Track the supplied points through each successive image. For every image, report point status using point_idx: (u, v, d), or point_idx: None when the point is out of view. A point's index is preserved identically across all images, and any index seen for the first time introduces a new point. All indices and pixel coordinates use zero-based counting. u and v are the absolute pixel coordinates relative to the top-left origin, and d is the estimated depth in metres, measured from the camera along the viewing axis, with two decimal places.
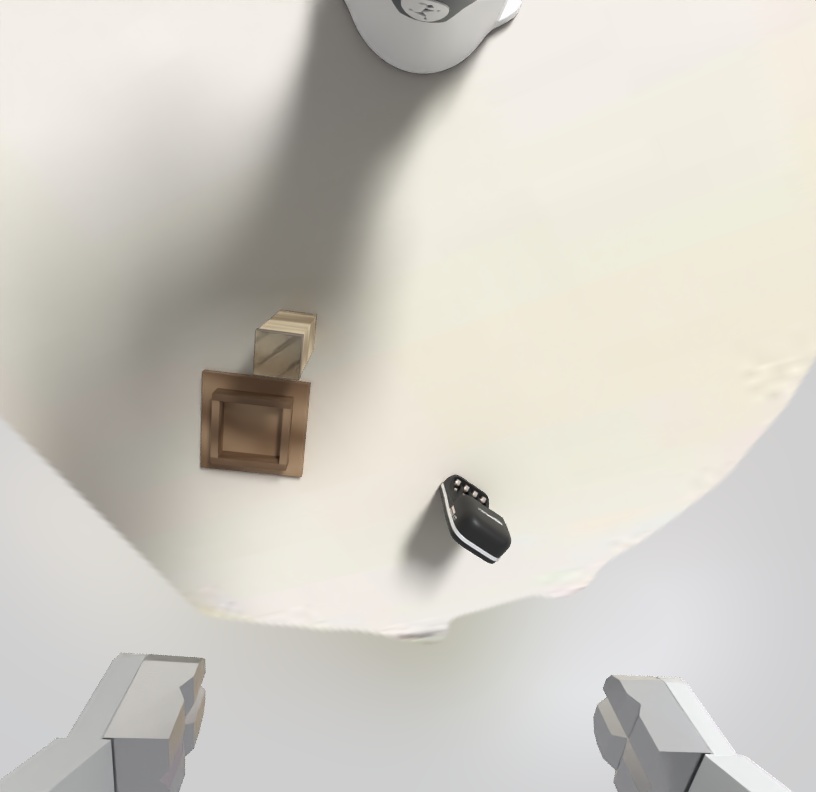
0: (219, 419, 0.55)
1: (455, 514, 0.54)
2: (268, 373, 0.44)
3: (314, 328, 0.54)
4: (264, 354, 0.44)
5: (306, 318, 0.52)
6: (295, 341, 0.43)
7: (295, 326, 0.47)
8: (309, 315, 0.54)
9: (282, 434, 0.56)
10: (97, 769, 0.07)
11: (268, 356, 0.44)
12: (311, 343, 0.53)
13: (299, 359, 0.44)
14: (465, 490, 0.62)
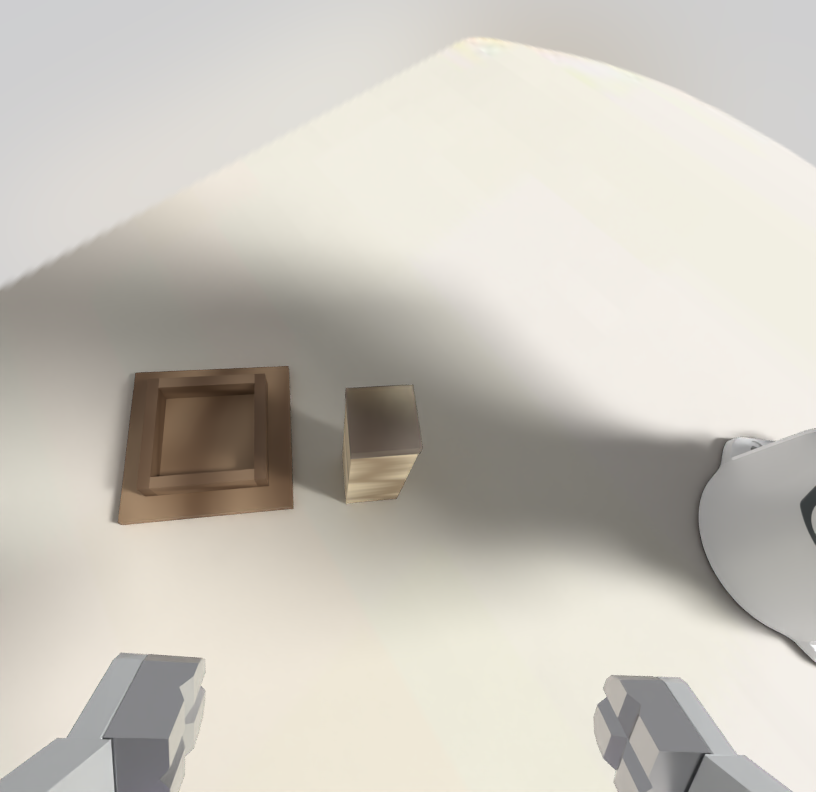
0: (223, 386, 0.38)
1: None
2: (352, 407, 0.28)
3: (381, 496, 0.37)
4: (381, 399, 0.29)
5: None
6: (411, 439, 0.28)
7: None
8: None
9: (207, 474, 0.35)
10: (97, 769, 0.07)
11: (379, 405, 0.29)
12: (366, 491, 0.36)
13: (385, 449, 0.28)
14: None
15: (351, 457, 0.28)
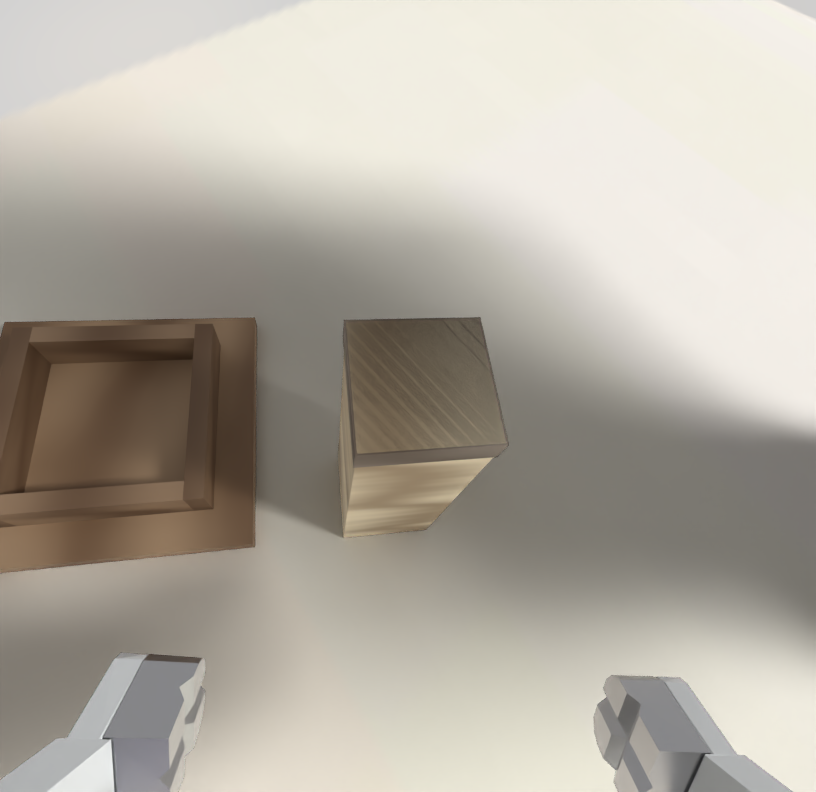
0: (142, 343, 0.23)
1: None
2: (357, 359, 0.13)
3: (402, 527, 0.22)
4: (417, 343, 0.14)
5: None
6: (483, 426, 0.13)
7: None
8: None
9: (99, 490, 0.20)
10: (97, 769, 0.07)
11: (413, 355, 0.14)
12: (378, 522, 0.21)
13: (430, 446, 0.13)
14: None
15: (355, 464, 0.13)
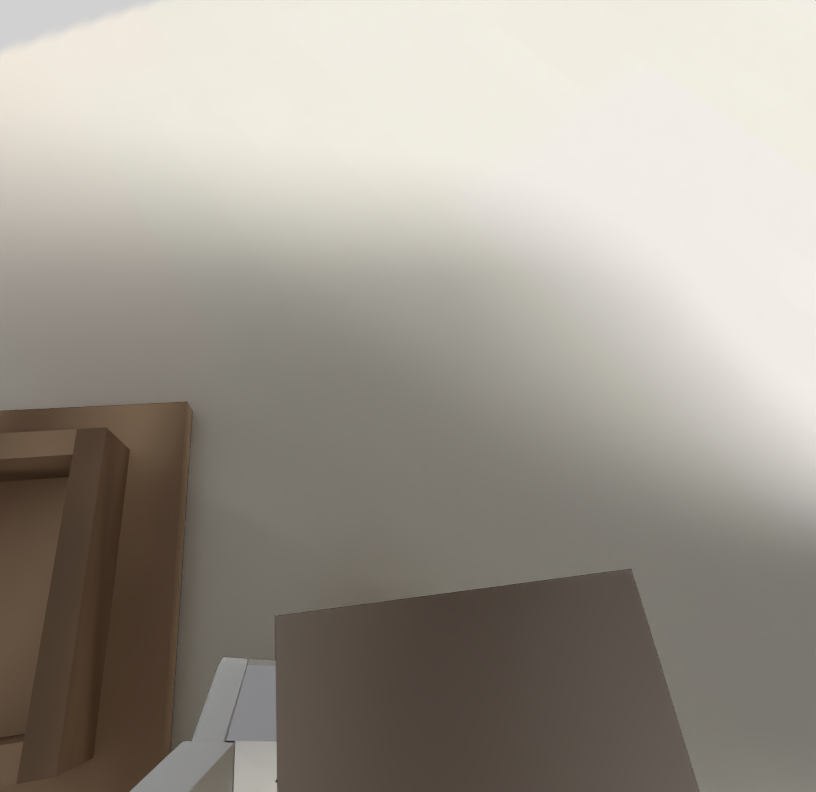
0: None
1: None
2: (309, 766, 0.04)
3: None
4: (480, 678, 0.05)
5: None
6: None
7: None
8: None
9: None
10: (222, 771, 0.07)
11: (472, 728, 0.05)
12: None
13: None
14: None
15: None
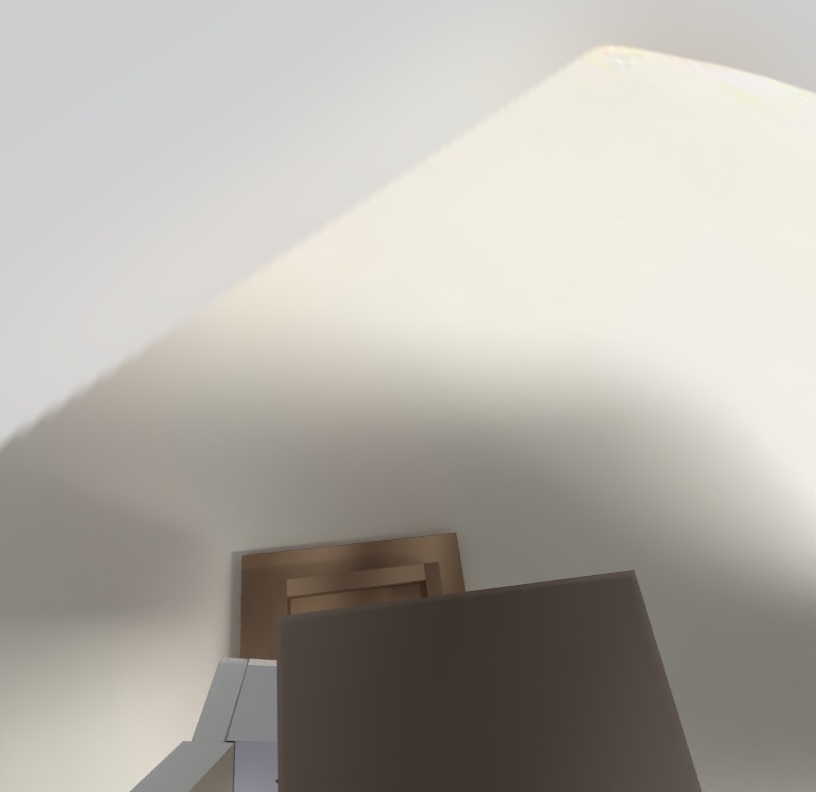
0: (379, 585, 0.25)
1: None
2: (310, 767, 0.04)
3: None
4: (481, 681, 0.05)
5: None
6: None
7: None
8: None
9: None
10: (223, 771, 0.07)
11: (473, 730, 0.05)
12: None
13: None
14: None
15: None
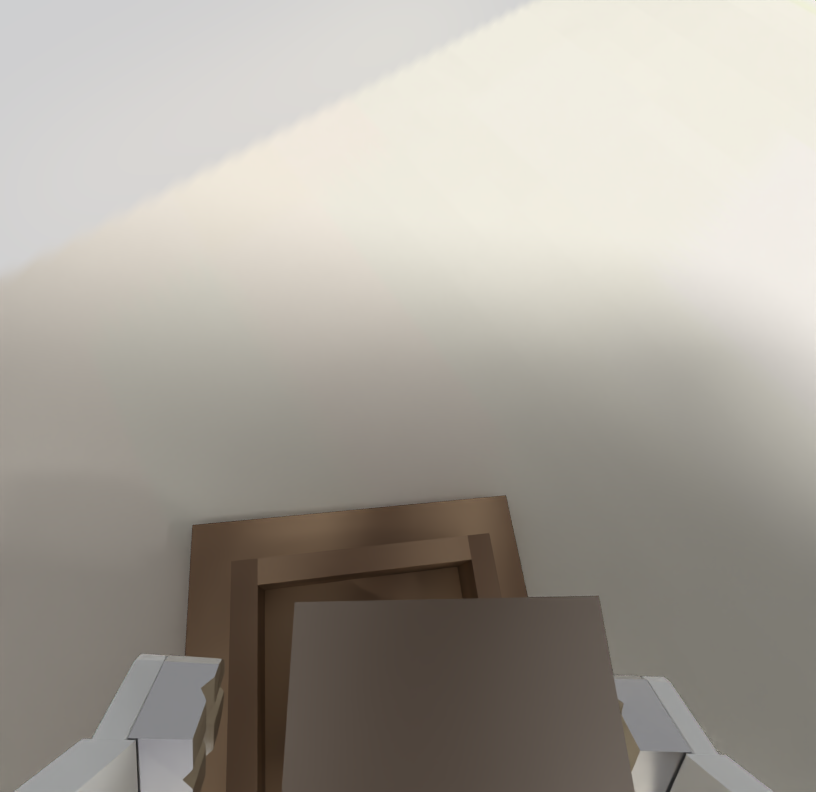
0: (400, 568, 0.16)
1: None
2: (312, 724, 0.06)
3: None
4: (457, 673, 0.06)
5: None
6: None
7: None
8: None
9: None
10: (122, 769, 0.07)
11: (446, 713, 0.06)
12: None
13: None
14: None
15: None
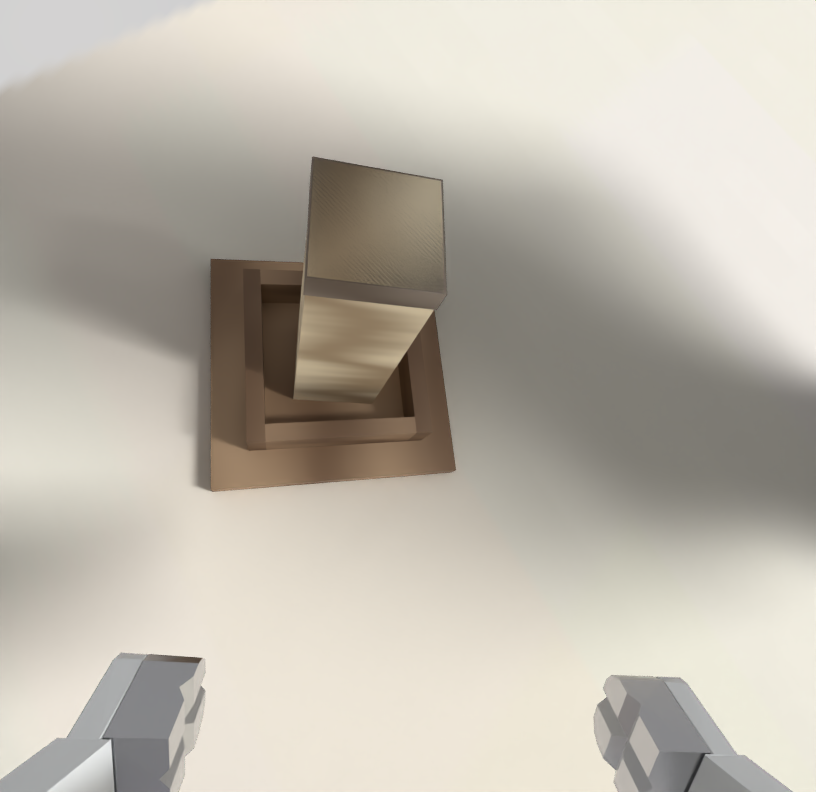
0: None
1: None
2: (320, 194, 0.14)
3: (349, 396, 0.24)
4: (379, 191, 0.15)
5: None
6: (427, 275, 0.14)
7: None
8: None
9: (349, 422, 0.23)
10: (97, 769, 0.07)
11: (373, 202, 0.15)
12: (326, 382, 0.22)
13: (375, 283, 0.14)
14: None
15: (305, 290, 0.14)
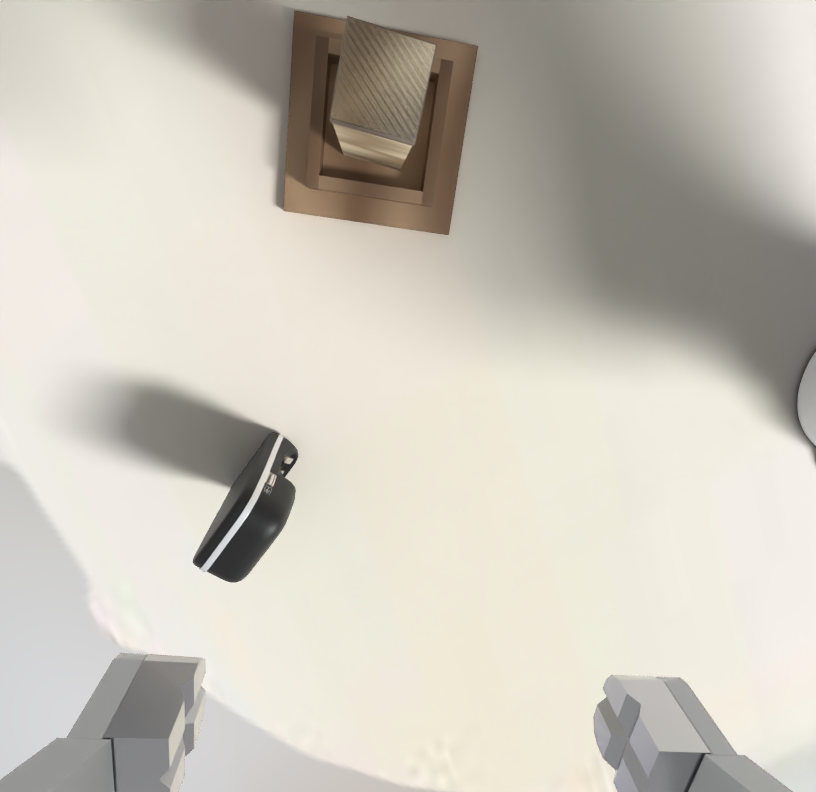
0: None
1: (271, 488, 0.33)
2: (347, 51, 0.22)
3: (381, 163, 0.33)
4: (388, 52, 0.22)
5: None
6: (406, 126, 0.23)
7: None
8: None
9: (375, 186, 0.33)
10: (97, 769, 0.07)
11: (382, 61, 0.22)
12: (362, 154, 0.31)
13: (371, 128, 0.23)
14: None
15: (331, 121, 0.23)
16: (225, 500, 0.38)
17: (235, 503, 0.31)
